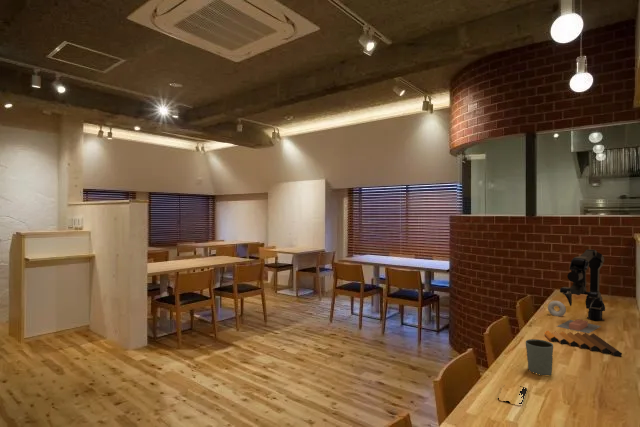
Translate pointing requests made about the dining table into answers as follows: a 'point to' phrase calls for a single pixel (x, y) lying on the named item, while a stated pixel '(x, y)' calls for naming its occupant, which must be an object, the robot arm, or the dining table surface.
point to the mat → (586, 329)
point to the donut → (559, 304)
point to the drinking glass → (539, 356)
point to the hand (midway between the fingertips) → (579, 307)
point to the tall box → (578, 324)
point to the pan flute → (583, 342)
